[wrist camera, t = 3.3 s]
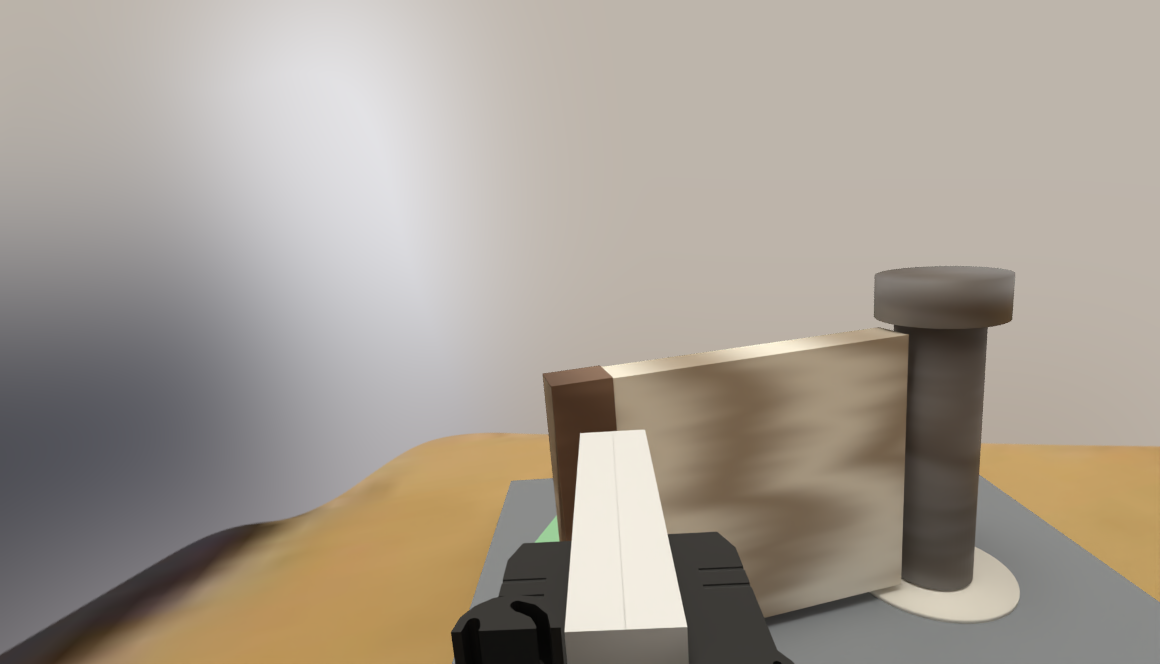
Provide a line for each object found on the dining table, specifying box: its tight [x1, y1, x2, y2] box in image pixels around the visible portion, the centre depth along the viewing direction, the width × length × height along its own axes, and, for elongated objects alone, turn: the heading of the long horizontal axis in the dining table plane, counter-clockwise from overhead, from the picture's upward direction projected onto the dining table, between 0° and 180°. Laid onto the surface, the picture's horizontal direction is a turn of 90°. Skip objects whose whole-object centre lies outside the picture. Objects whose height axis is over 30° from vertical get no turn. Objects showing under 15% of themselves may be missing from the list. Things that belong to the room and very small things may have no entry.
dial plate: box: [452, 475, 1160, 664], centre depth 25 cm, size 26×21×2 cm
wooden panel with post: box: [543, 266, 1015, 618], centre depth 22 cm, size 17×4×12 cm, turn 103°
